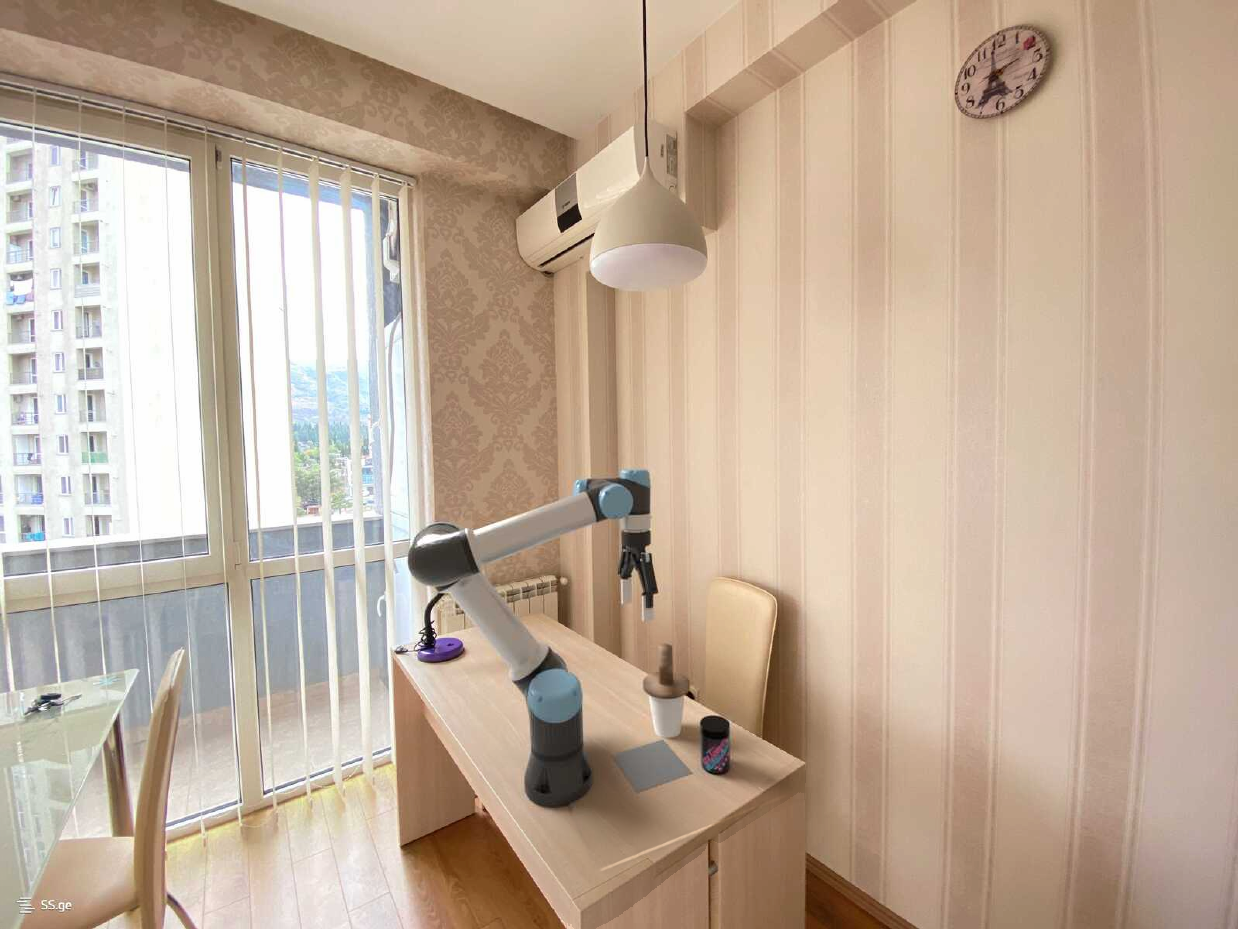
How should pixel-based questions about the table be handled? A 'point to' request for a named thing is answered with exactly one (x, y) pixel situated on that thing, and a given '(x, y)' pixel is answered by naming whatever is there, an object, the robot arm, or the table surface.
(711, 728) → the supplement container
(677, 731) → the cup
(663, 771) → the mat
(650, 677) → the lid
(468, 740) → the table surface
